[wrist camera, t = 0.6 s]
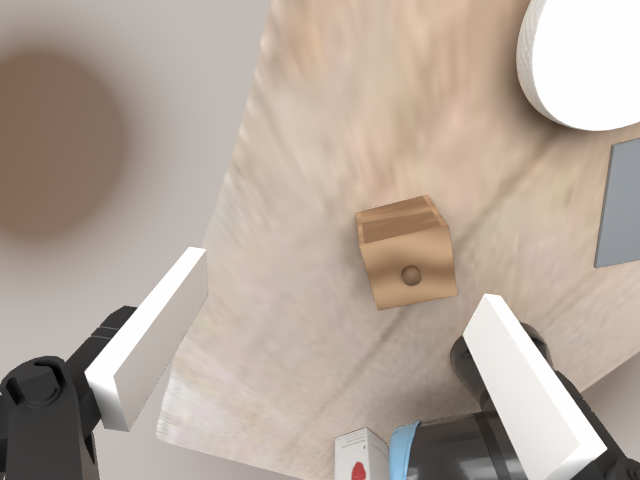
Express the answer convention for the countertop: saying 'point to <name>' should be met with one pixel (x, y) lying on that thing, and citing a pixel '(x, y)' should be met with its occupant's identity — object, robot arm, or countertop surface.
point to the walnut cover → (406, 253)
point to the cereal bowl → (582, 62)
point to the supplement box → (361, 457)
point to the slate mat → (621, 207)
